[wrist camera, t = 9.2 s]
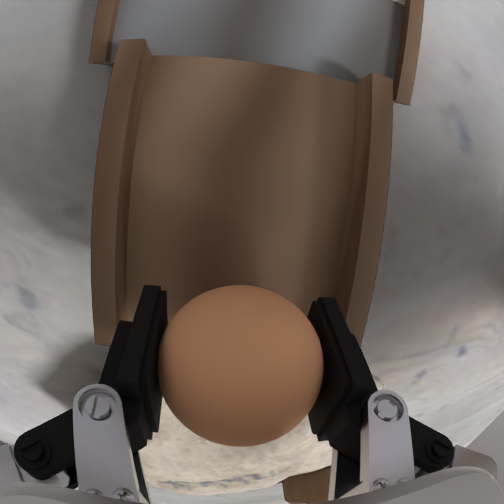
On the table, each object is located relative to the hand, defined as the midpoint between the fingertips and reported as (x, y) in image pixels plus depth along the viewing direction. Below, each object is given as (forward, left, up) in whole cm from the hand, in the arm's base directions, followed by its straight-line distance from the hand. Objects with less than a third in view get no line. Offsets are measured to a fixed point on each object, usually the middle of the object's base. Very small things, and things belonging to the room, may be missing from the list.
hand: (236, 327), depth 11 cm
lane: (0, -9, -7) cm, 12 cm away
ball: (0, 0, -1) cm, 1 cm away
